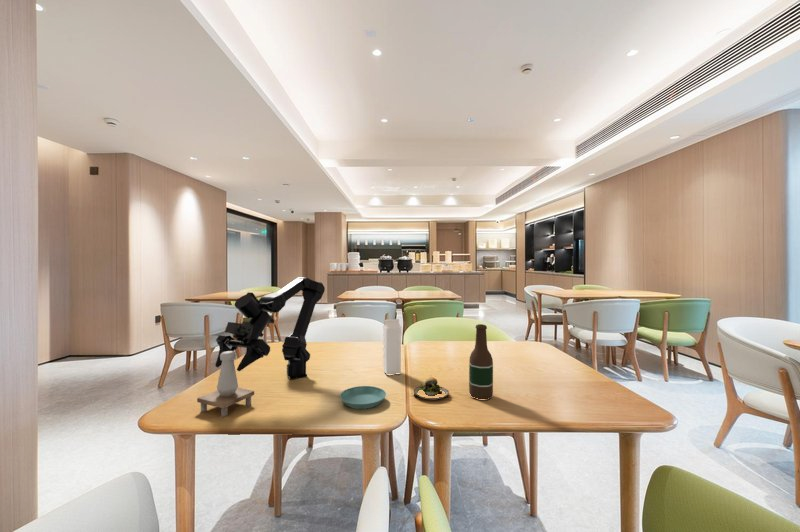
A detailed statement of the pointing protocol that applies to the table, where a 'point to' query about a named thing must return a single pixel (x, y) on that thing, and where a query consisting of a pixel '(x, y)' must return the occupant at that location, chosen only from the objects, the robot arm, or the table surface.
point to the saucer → (362, 397)
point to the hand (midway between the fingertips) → (227, 368)
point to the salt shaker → (227, 375)
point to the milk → (392, 346)
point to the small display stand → (225, 400)
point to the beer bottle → (481, 367)
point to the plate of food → (431, 388)
